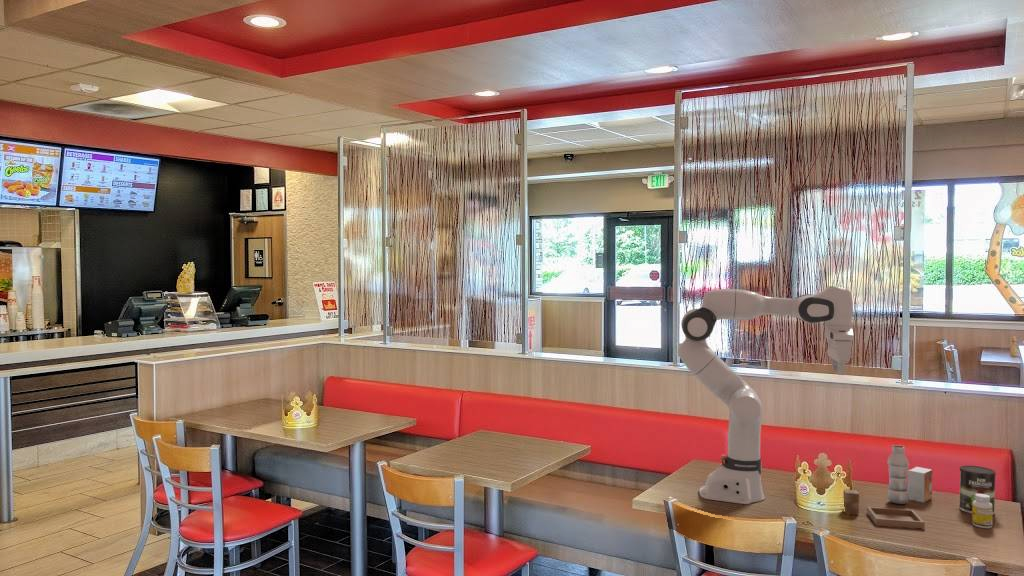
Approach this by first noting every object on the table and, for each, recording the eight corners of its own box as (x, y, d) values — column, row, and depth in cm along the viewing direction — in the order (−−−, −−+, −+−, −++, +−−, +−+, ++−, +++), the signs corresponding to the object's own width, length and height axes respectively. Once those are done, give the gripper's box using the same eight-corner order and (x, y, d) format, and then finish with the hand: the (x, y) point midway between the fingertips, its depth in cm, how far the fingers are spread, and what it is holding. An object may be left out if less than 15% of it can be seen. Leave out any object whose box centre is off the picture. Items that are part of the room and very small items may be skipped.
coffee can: (998, 517, 240) (999, 474, 240) (962, 513, 244) (963, 471, 243) (990, 507, 250) (991, 466, 249) (955, 504, 253) (956, 464, 253)
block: (845, 513, 243) (846, 492, 243) (843, 509, 247) (843, 489, 247) (858, 514, 243) (859, 493, 242) (856, 510, 246) (856, 490, 246)
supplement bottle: (973, 521, 236) (973, 491, 236) (993, 525, 233) (993, 495, 232) (970, 526, 232) (971, 495, 232) (991, 530, 228) (991, 499, 228)
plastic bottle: (911, 506, 250) (912, 449, 250) (890, 505, 252) (890, 448, 251) (905, 500, 257) (906, 444, 256) (884, 499, 258) (885, 443, 258)
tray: (876, 525, 232) (876, 518, 232) (867, 513, 244) (867, 506, 244) (924, 529, 229) (924, 522, 229) (912, 516, 240) (913, 510, 240)
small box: (924, 503, 254) (924, 473, 254) (906, 499, 258) (907, 470, 258) (932, 498, 260) (933, 469, 259) (915, 494, 264) (916, 466, 264)
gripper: (823, 330, 263) (822, 368, 263) (834, 335, 243) (834, 376, 244) (842, 330, 262) (841, 369, 262) (855, 335, 242) (854, 377, 242)
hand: (838, 372), depth 253 cm, fingers open, 8 cm apart
